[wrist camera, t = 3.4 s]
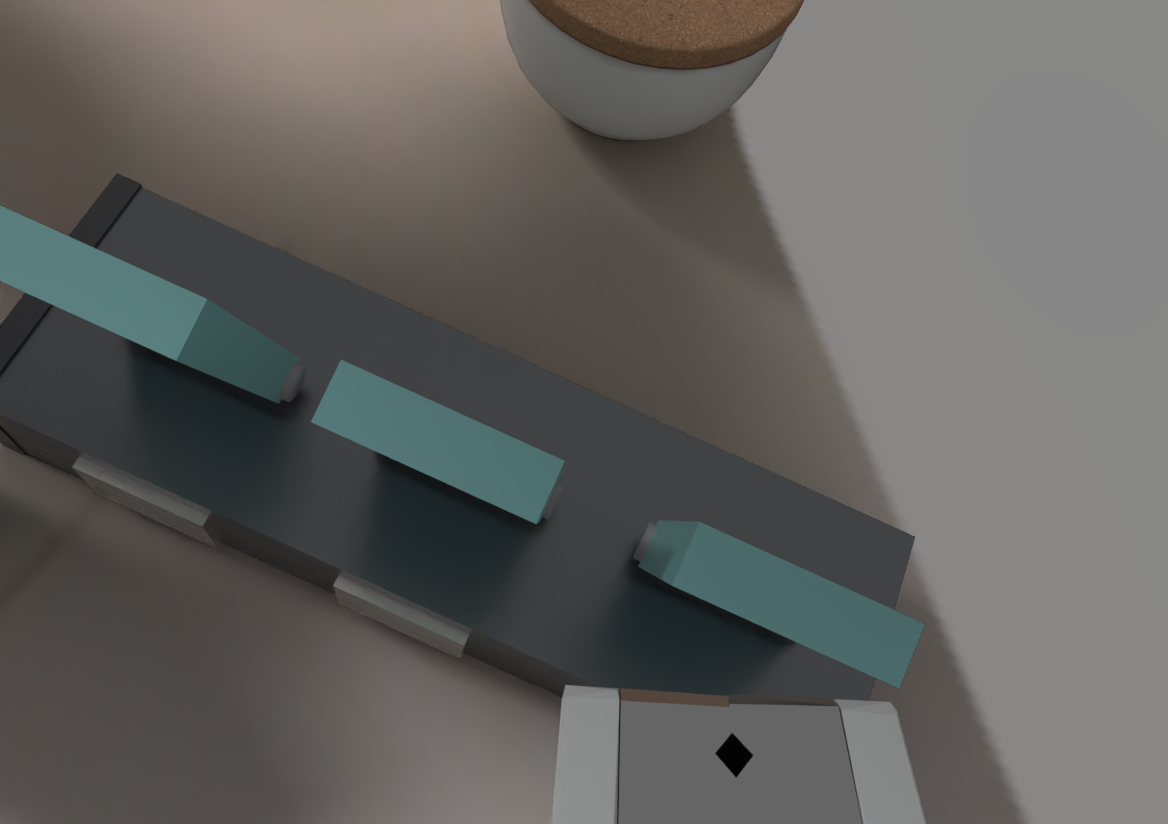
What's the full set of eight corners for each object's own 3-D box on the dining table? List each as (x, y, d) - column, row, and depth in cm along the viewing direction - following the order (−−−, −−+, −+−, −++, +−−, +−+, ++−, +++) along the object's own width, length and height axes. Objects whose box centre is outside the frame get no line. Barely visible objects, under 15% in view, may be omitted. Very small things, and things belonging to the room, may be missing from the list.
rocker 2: (373, 446, 29) (301, 417, 21) (394, 401, 30) (331, 355, 21) (546, 524, 29) (545, 528, 21) (566, 479, 29) (574, 464, 21)
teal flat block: (629, 562, 29) (662, 581, 21) (649, 517, 29) (690, 517, 21) (803, 641, 29) (908, 693, 21) (822, 595, 29) (934, 628, 21)
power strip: (-4, 452, 32) (-59, 401, 28) (147, 243, 35) (116, 173, 31) (787, 812, 31) (839, 809, 28) (861, 566, 35) (917, 534, 31)
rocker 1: (118, 330, 29) (-56, 255, 21) (141, 287, 30) (-24, 194, 21) (290, 408, 29) (185, 365, 21) (312, 364, 30) (215, 303, 21)
